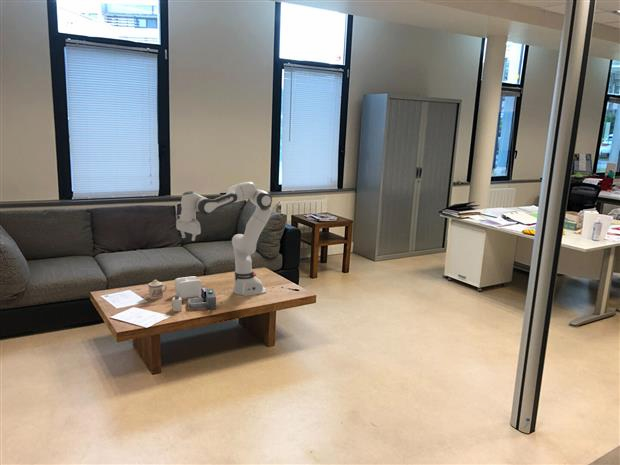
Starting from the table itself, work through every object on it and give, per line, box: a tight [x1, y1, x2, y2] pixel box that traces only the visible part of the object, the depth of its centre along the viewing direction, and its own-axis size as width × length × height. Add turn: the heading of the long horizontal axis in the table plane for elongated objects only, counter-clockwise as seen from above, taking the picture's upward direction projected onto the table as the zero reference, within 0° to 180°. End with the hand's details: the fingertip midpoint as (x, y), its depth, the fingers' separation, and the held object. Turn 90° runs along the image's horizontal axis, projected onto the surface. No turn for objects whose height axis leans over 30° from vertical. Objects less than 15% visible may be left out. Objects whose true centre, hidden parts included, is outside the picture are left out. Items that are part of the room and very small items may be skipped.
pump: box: [172, 294, 183, 312], centre depth 298 cm, size 5×5×9 cm
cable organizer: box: [174, 275, 202, 300], centre depth 322 cm, size 15×11×12 cm
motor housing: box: [187, 288, 217, 311], centre depth 306 cm, size 16×16×9 cm
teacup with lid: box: [147, 279, 167, 300], centre depth 318 cm, size 12×9×12 cm
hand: (188, 239), depth 306 cm, fingers open, 8 cm apart
